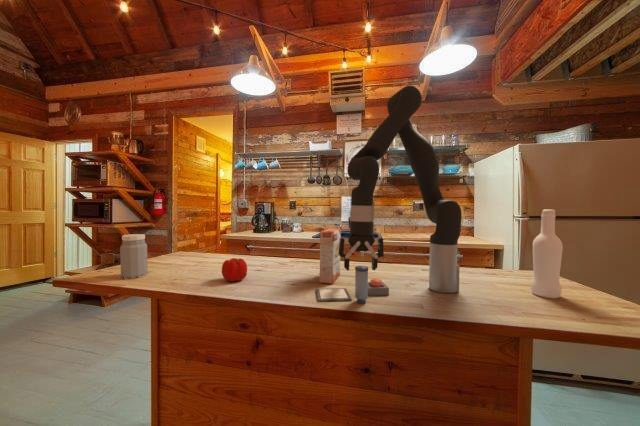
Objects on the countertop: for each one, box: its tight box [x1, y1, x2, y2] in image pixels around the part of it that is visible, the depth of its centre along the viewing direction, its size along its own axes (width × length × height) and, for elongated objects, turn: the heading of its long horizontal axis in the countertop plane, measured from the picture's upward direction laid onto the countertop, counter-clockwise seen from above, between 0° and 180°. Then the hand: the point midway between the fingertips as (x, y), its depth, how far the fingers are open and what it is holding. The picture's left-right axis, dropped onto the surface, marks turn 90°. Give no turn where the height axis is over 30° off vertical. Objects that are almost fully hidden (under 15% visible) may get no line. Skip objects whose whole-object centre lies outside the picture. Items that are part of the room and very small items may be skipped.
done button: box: [370, 278, 383, 287], centre depth 93 cm, size 4×4×2 cm
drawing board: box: [315, 287, 353, 303], centre depth 90 cm, size 11×11×1 cm
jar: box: [119, 233, 149, 279], centre depth 113 cm, size 10×10×18 cm
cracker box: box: [319, 228, 342, 285], centre depth 109 cm, size 14×6×21 cm, turn 163°
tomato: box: [221, 257, 248, 282], centre depth 107 cm, size 11×11×9 cm
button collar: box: [368, 281, 390, 297], centre depth 94 cm, size 7×7×2 cm
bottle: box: [530, 208, 564, 299], centre depth 90 cm, size 8×8×30 cm
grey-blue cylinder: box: [354, 265, 369, 305], centre depth 84 cm, size 4×4×11 cm
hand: (360, 269), depth 84 cm, fingers open, 8 cm apart
